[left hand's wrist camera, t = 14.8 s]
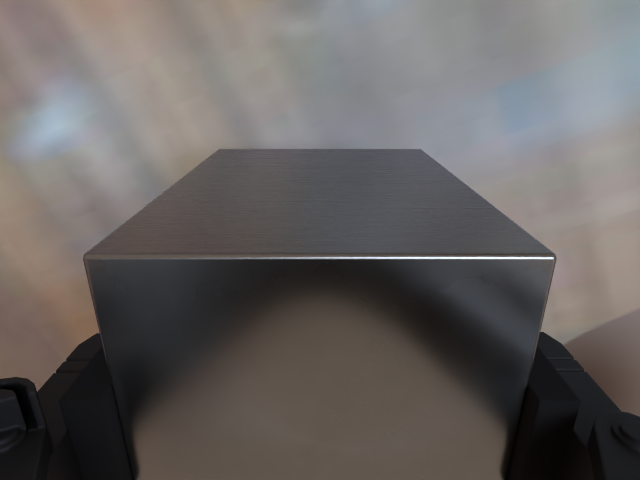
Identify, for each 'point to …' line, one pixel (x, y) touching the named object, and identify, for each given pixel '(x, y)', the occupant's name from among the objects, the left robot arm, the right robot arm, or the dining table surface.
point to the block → (319, 321)
